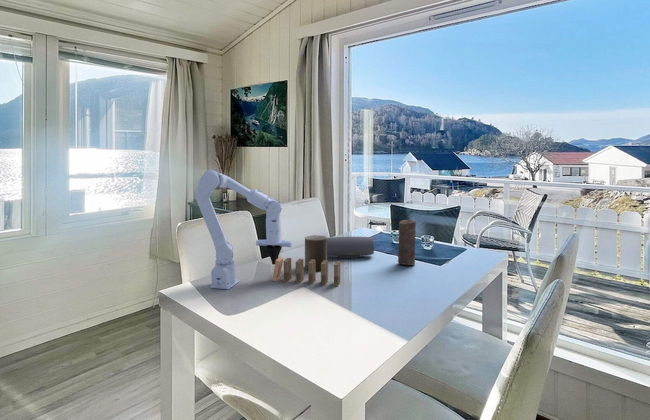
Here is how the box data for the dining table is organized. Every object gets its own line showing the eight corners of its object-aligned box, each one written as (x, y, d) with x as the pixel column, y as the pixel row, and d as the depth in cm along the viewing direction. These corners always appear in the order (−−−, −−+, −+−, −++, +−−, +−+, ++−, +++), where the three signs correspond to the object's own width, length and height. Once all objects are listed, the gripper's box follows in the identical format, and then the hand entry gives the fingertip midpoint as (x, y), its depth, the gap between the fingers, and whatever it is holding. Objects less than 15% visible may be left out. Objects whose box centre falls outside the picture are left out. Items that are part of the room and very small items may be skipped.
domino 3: (300, 283, 145) (299, 262, 144) (296, 283, 146) (295, 262, 144) (303, 279, 150) (303, 258, 148) (299, 279, 150) (299, 258, 149)
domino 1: (275, 281, 148) (279, 261, 146) (272, 280, 148) (275, 260, 146) (280, 277, 152) (283, 257, 150) (276, 276, 153) (279, 256, 151)
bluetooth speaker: (371, 253, 184) (371, 234, 182) (374, 259, 175) (374, 238, 173) (324, 254, 183) (324, 234, 182) (325, 260, 174) (325, 239, 173)
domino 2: (287, 282, 147) (287, 261, 145) (284, 282, 147) (283, 261, 146) (291, 278, 151) (291, 258, 150) (287, 278, 151) (287, 257, 150)
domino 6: (337, 286, 142) (337, 264, 140) (333, 286, 142) (333, 264, 141) (340, 282, 146) (340, 261, 145) (336, 281, 147) (336, 261, 145)
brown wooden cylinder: (410, 268, 162) (411, 222, 158) (394, 265, 166) (395, 221, 163) (417, 263, 168) (419, 220, 164) (402, 261, 172) (403, 218, 169)
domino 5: (325, 285, 143) (324, 264, 142) (321, 285, 143) (320, 263, 142) (327, 281, 147) (327, 260, 146) (324, 280, 148) (323, 260, 146)
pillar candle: (324, 272, 158) (324, 237, 156) (302, 270, 160) (301, 236, 157) (329, 265, 167) (329, 232, 165) (307, 264, 169) (307, 231, 167)
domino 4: (312, 284, 144) (312, 263, 143) (308, 284, 145) (308, 262, 143) (315, 280, 149) (315, 259, 147) (311, 279, 149) (311, 259, 148)
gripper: (294, 228, 149) (295, 261, 151) (260, 227, 153) (261, 259, 155) (288, 232, 142) (289, 267, 145) (253, 231, 146) (254, 264, 148)
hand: (274, 263), depth 149 cm, fingers closed
